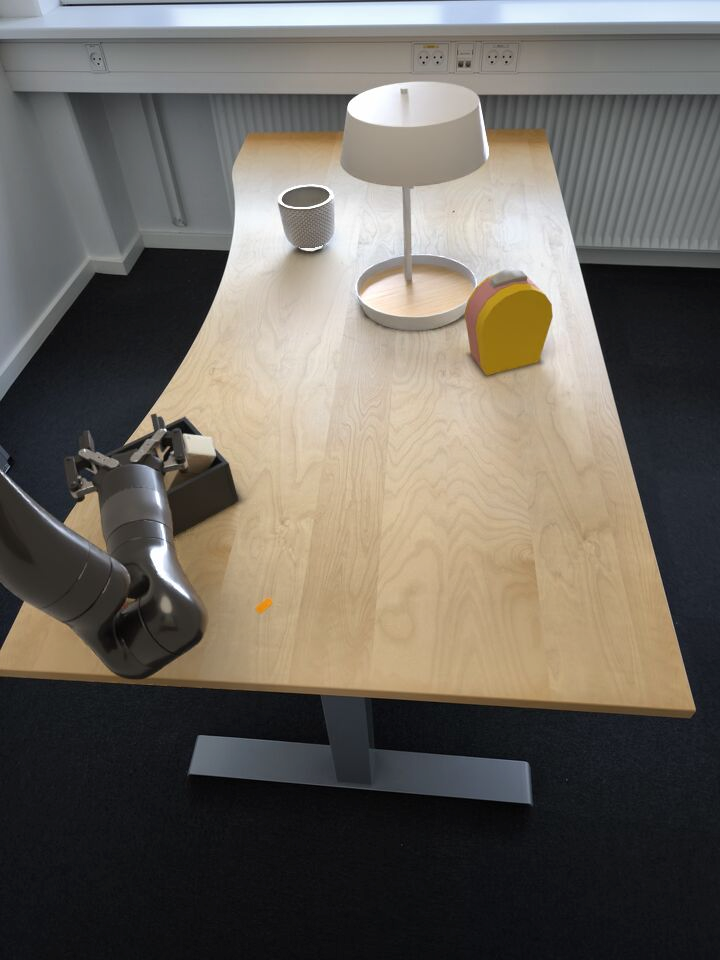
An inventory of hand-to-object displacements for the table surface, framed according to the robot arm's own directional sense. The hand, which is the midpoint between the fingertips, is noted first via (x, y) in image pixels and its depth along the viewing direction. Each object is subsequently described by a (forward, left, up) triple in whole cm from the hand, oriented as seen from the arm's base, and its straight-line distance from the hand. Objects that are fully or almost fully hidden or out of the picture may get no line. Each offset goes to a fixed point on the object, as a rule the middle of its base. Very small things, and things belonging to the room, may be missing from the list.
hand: (121, 427), depth 93 cm
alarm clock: (+77, +7, -30) cm, 83 cm away
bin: (+7, +15, -30) cm, 34 cm away
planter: (+76, +75, -30) cm, 110 cm away
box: (+8, +15, -28) cm, 32 cm away
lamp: (+78, +36, -30) cm, 91 cm away
